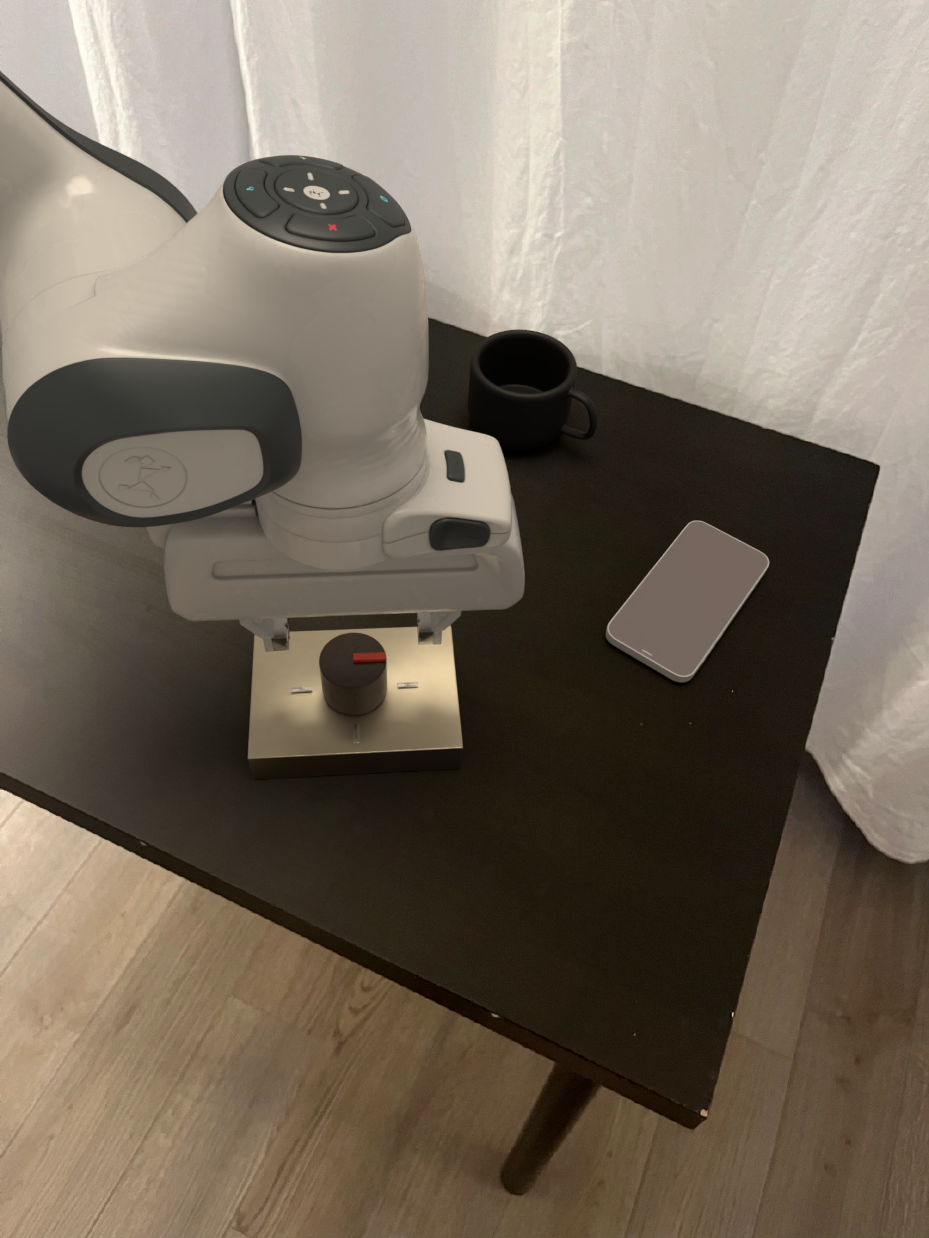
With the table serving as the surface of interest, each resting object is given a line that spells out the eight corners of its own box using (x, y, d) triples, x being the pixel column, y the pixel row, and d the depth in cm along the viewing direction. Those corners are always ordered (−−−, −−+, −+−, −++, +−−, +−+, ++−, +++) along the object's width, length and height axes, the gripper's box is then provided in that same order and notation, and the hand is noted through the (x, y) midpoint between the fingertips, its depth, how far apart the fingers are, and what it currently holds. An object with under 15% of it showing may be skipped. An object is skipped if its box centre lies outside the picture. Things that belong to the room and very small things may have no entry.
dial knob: (322, 717, 64) (318, 686, 61) (322, 662, 66) (318, 630, 63) (388, 714, 64) (387, 684, 61) (386, 659, 67) (385, 627, 64)
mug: (446, 432, 85) (450, 368, 79) (500, 378, 90) (507, 314, 84) (563, 490, 81) (576, 428, 76) (612, 431, 86) (628, 368, 80)
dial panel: (253, 779, 64) (247, 757, 62) (259, 656, 70) (253, 631, 67) (460, 768, 65) (463, 746, 63) (449, 648, 71) (451, 623, 69)
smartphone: (774, 558, 77) (688, 682, 69) (771, 566, 78) (685, 689, 70) (693, 516, 79) (601, 631, 71) (690, 523, 80) (599, 638, 72)
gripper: (125, 538, 46) (181, 689, 57) (542, 524, 48) (518, 674, 59) (141, 447, 50) (190, 605, 61) (527, 437, 52) (507, 593, 63)
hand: (354, 639), depth 60 cm, fingers open, 8 cm apart
